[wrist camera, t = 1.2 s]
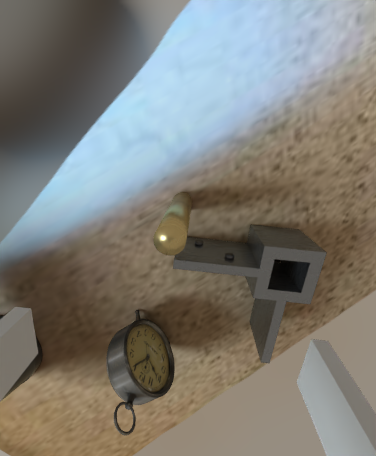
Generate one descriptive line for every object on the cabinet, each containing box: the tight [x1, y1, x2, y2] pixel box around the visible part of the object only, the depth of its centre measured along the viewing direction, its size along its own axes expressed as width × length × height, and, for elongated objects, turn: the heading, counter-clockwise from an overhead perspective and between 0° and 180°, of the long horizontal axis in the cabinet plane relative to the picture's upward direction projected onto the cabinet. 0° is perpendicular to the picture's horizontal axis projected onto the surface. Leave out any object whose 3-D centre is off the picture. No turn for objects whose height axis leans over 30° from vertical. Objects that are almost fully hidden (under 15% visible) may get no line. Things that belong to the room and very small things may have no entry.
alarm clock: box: [107, 310, 174, 435], centre depth 35 cm, size 11×5×16 cm, turn 37°
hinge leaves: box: [173, 225, 327, 363], centre depth 34 cm, size 18×18×8 cm
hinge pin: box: [154, 192, 192, 255], centre depth 27 cm, size 3×3×15 cm
